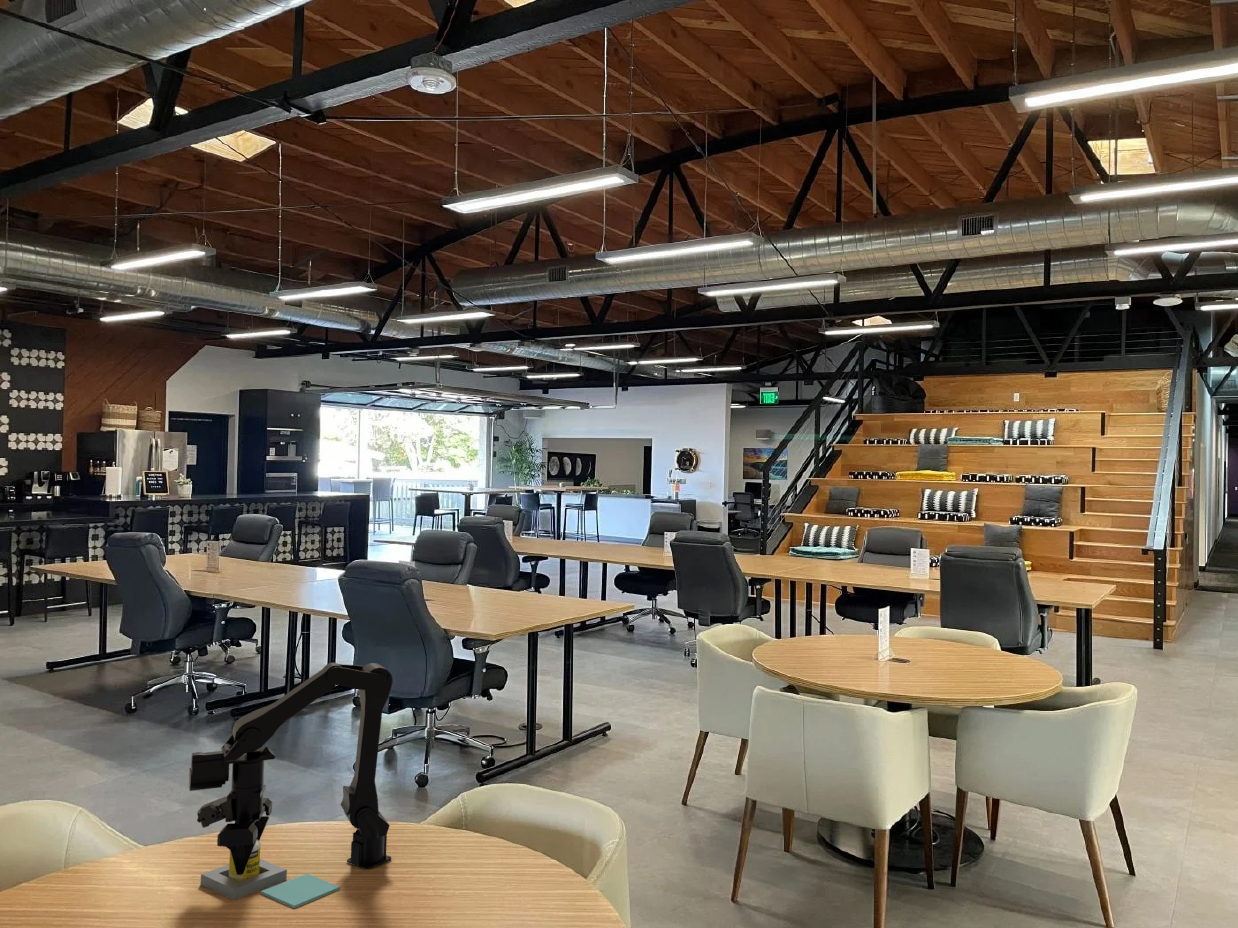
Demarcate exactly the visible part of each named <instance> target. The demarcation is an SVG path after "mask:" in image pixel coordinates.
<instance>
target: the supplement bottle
mask: <svg viewBox="0 0 1238 928" xmlns="http://www.w3.org/2000/svg"><path fill="white" fill-rule="evenodd" d="M256 837H257V836H256ZM260 859H261V842H260V840H259V841H258V840H257V841H256V843H255V846H254V848H253V851H252V853H251V856H250V858H249V861H248V863H247V866H246V868H245V871H244V873H243V874H242V875H237V873H236V869H235V865H234V862H233V858H232V854H231V851H230V850H229V862H228V865H229V878H230V879H233V880H235V881H237V882H240V881H243V880H245V879H248V878H251V877H254V876H256V875H259V865H260Z"/></svg>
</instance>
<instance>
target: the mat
mask: <svg viewBox="0 0 1238 928" xmlns="http://www.w3.org/2000/svg"><path fill="white" fill-rule="evenodd" d="M340 889H341V886H339V885H336V884H334V883H332V882H329V881H327V880H324V879H322V878H319V877H317V876H314V875H311V874H309V873H304V874H302V875H300V876H297V877H294V878H292V879H290V880H286V881H283V882H280V883H278V884H275V885H273V886H270V887H267V888H265V889H262V890H260V894H261V895H263V896H265V897H267V898H270V899H271V900H274V901H276V902H279V903H281V904H283V905H285V906H287V907H290V908H291V909H296V908H298V907H301V906H303V905H306V904H309V903H311V902H313V901H315V900H318V899H320V898H322V897H325V896H328V895H330V894H332V893H334V892H337V891H339V890H340Z"/></svg>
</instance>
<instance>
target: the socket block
mask: <svg viewBox="0 0 1238 928" xmlns="http://www.w3.org/2000/svg"><path fill="white" fill-rule="evenodd" d="M287 872H288V870H287V869H286V868H285V867H281V866H279V865H276V864H274V863H271V862H268V860H267V861H266V860H264V859H262V858H260V865H259V875H256V876H254V877H251V878H248V879H245V880H243V881H240V882H237V881H235V880H233V879H230V878H229V864H226V865H224V866H219V867H217V868H213V869H211V870H209V871H206V872H203V873H201V874H200V886H202V887H205V888H206V889H209V890H211V891H213V892H215V893H217V894H220V895H222V896H224V897H227V898H228V899H231V900H232V901H236V900H238V899H241V898H244V897H247V896H249V895H251V894H254V893H256V892H261V891H263V890H265V889H268V888H271V887H273V886H276V885H278V884H281V883H284V882H286V881H287V880H288V879H287V877H288V876H287V875H288V874H287Z"/></svg>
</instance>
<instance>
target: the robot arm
mask: <svg viewBox="0 0 1238 928" xmlns="http://www.w3.org/2000/svg"><path fill="white" fill-rule="evenodd" d="M393 681H394V680H393V675H392V674H391V672H390V671H389V670H388V669H386V667H384V666H382V665H381V664H379V663H376V662H371V663H370V662H369V663H367V664H365V665H357V664H341V663H338V662H328V663H327V664H326V665H325V666H324V667H322V669H320V670H319V671H317V672H316V673H315V674H313V675H312V676H310V677H309V678H308V679H306V680H305V681H303V682H301V683H300V684H299V685H297V686H296V687H294V688H293V689H292V690H290V691H289V692H287V693H286V694H284V695H283V696H282V697H280V698H279V699H278V700H276V701H274V702H273V703H270V704H269V705H267V706H264V707H261V708H258V709H255V710H254V711H251V712H249V713H247V714H245V715H243V716H241V717H240V718H238V719H237V720H236V721H235V723H234V725H233V728H232V734H231V735H230V736H229V737H228V739H227V740H226V741H225V742H224V744H223V746H221V750H218V751H217V750H216V751H209V752H199V751H198V752H192V753H191V761H190V767H189V769H188V770H189V773H188V776H189V777H188V791H189V792H196V791H204V790H211V789H219V788H223V785H226V782H229V780H230V779H229V778H230V765H231V764H232V765H231V766H232V769H231V770H232V771H231V790H230V792H229V793H227V795H226V796H223V797H220V798H218V799H215V800H213V801H210V802H207V803H205V804H203V805H202V806H201V807H200V808H199V809H198V810H197V813H196V815H197V818H196V819H197V820H196V821H197V823H199V824H200V825H201V827H202V828H207V827H209V826H210V825H212V824H215V823H218V822H219V821H222V820H224V821H225V823H226V824H225V825H224V826H223V827H222V828H221V830H220V831H219V833H218V834H217V840H216V845H217V847H223V848H227V849H228V850H229V852H230V851H231V854H232V858H233V862H234V865H235V869H236V873H237V875H242V874H243V873H244V871H245V868H246V866H247V863H248V861H249V858H250V856H251V853H252V851H253V848H254V846H255V843H256V841H257V840H258V841H259V842H260V841H261V837H262V835H263V833H264V830H265V828H266V826H267V824H268V821H269V820H270V816H271V814H272V812H273V801H272V800H271V799H270V798H269V797H264V793H265V791H266V789H267V788H266V786H267V785H266V784H264V782H265V781H264V778H265V775H264V774H265V761H270V760H275V759H276V755H275V753H274V751H273V750H271V749H270V748H269V747H268V745H267V744H266V743H268V741H269V740H270V739H272V737H273V736H275V734H276V733H277V731H278V730H279V729H280V728H281V727H282V725H284V723H286V722H287V721H288V720H289V719H291V718H292V717H294V716H295V715H297V714H298V713H299V712H301V711H302V710H303V709H305V708H306V707H308V706H309V705H311V704H312V703H313V702H315V701H316V700H317V699H319V698H320V697H322V696H324V694H326V693H328V691H330V690H331V689H333V688H334V687H336V686H339V687H345V688H351V689H355V690H358V697H359V702H360V717H359V728H358V737H357V744H356V754H355V764H354V773H353V779H352V781H351V782H350V784H349V785H342V799H341V800H342V801H341V802H340V806H341V808H342V810H343V813H344V815H345V816H346V818H347V820H348V821H349V823H350V824H351V826H352V827H353V828H355V829H356V830H355V831H354V832H352V841H351V844H350V858H347V859H346V862H347V863H348V864H350V865H353V866H357V867H359V868H362V869H364V870H370V869H373V868H375V867H377V866H380V865H382V864H384V863H388V862H389V861H391V860H392V856H389V855H387V846H388V845H387V844H388V842H387V840H388V832H389V830H390V824H389V822H388V821H387V820H386V818H385V817H384V815H383V814H382V813H381V812H380V811H379V798H378V792H377V785H376V773H377V765H378V764H377V763H378V756H379V755H378V754H379V746H380V737H381V728H382V718H383V712H384V708H385V706H386V705H387V702H388V700H389V697H390V694H391V691H392V686H393V684H394V683H393ZM264 813H265V815H264ZM232 822H234V823H232ZM256 836H257V837H256Z"/></svg>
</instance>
